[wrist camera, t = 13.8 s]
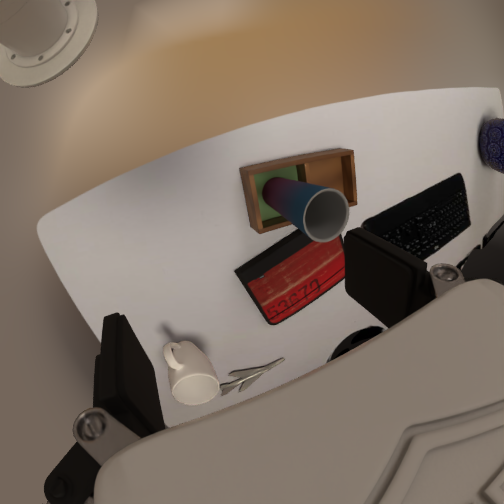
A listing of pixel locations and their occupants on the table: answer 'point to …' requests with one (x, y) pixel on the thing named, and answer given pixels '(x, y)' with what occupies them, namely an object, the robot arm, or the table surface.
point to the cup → (308, 207)
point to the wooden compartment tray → (299, 169)
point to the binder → (292, 274)
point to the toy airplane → (247, 377)
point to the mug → (190, 373)
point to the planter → (493, 143)
